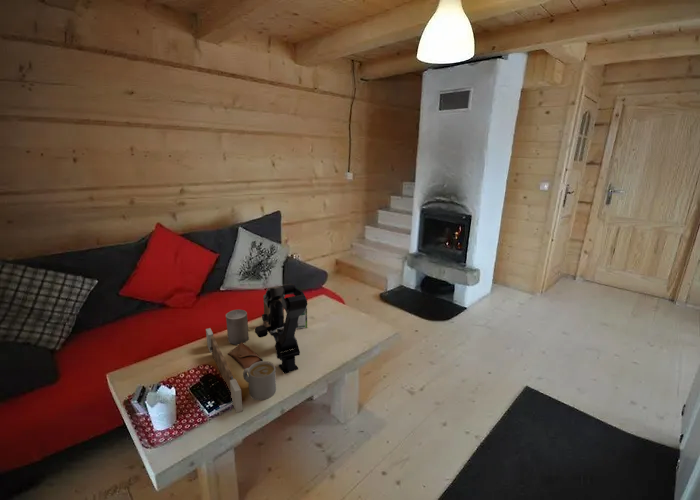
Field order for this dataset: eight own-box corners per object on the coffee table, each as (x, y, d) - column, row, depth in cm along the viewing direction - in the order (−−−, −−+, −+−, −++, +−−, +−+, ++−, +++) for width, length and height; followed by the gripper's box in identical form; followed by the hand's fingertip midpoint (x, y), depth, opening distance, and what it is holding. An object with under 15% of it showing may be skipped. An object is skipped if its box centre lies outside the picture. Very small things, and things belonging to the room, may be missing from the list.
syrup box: (296, 329, 179) (296, 303, 175) (295, 323, 184) (294, 298, 180) (307, 328, 180) (307, 302, 176) (305, 322, 186) (305, 297, 182)
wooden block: (284, 322, 185) (283, 291, 180) (266, 329, 178) (265, 297, 172) (280, 320, 187) (279, 289, 182) (263, 327, 180) (261, 295, 175)
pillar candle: (247, 332, 174) (245, 305, 170) (249, 342, 165) (247, 314, 161) (227, 336, 171) (224, 308, 166) (228, 346, 162) (225, 317, 158)
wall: (242, 410, 123) (240, 388, 121) (236, 413, 122) (235, 390, 120) (211, 345, 162) (210, 327, 160) (207, 346, 161) (205, 328, 159)
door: (234, 395, 130) (232, 375, 127) (228, 397, 129) (226, 377, 126) (214, 353, 156) (213, 336, 153) (209, 354, 155) (208, 337, 152)
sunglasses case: (225, 353, 156) (231, 339, 157) (238, 355, 161) (244, 341, 162) (246, 372, 144) (252, 356, 145) (259, 373, 149) (265, 358, 150)
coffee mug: (281, 388, 135) (280, 366, 132) (262, 403, 127) (261, 380, 124) (257, 376, 142) (256, 355, 139) (237, 389, 134) (236, 367, 131)
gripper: (288, 301, 166) (289, 330, 171) (250, 310, 156) (251, 340, 161) (298, 311, 157) (298, 341, 162) (258, 320, 148) (259, 352, 152)
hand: (277, 343), depth 159 cm, fingers closed
